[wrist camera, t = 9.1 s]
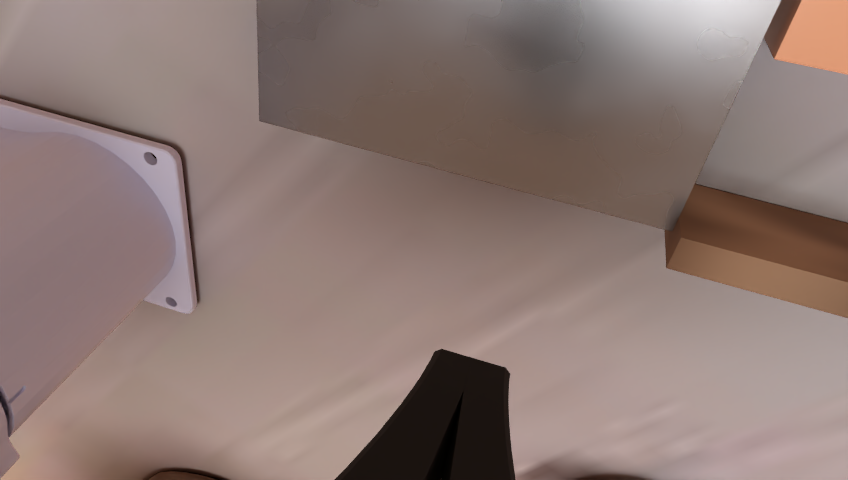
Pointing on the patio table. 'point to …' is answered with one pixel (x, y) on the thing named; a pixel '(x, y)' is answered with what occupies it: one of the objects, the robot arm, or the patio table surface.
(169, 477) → the plant pot
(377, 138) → the grey plate
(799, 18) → the tile
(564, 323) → the patio table surface
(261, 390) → the patio table surface
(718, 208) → the box
